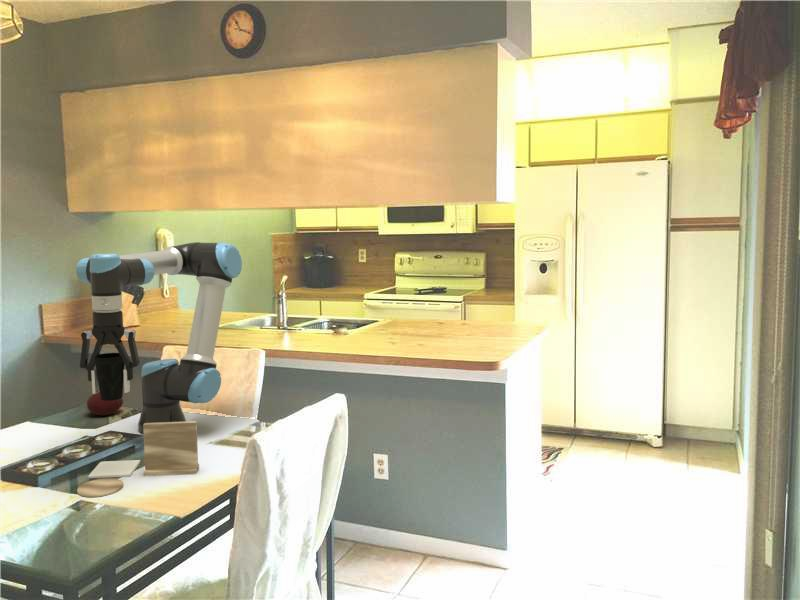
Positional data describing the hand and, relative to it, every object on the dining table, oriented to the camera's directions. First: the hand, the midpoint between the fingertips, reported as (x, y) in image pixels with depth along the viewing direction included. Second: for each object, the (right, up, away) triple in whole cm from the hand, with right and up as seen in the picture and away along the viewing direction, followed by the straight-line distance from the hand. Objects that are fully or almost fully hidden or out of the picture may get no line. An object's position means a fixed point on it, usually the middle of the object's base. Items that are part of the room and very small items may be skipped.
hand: (111, 391), depth 181 cm
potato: (-27, -16, +55) cm, 63 cm away
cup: (0, -2, 0) cm, 2 cm away
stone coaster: (0, -22, +3) cm, 22 cm away
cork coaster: (+2, -24, -10) cm, 26 cm away
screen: (+16, -23, +2) cm, 28 cm away
